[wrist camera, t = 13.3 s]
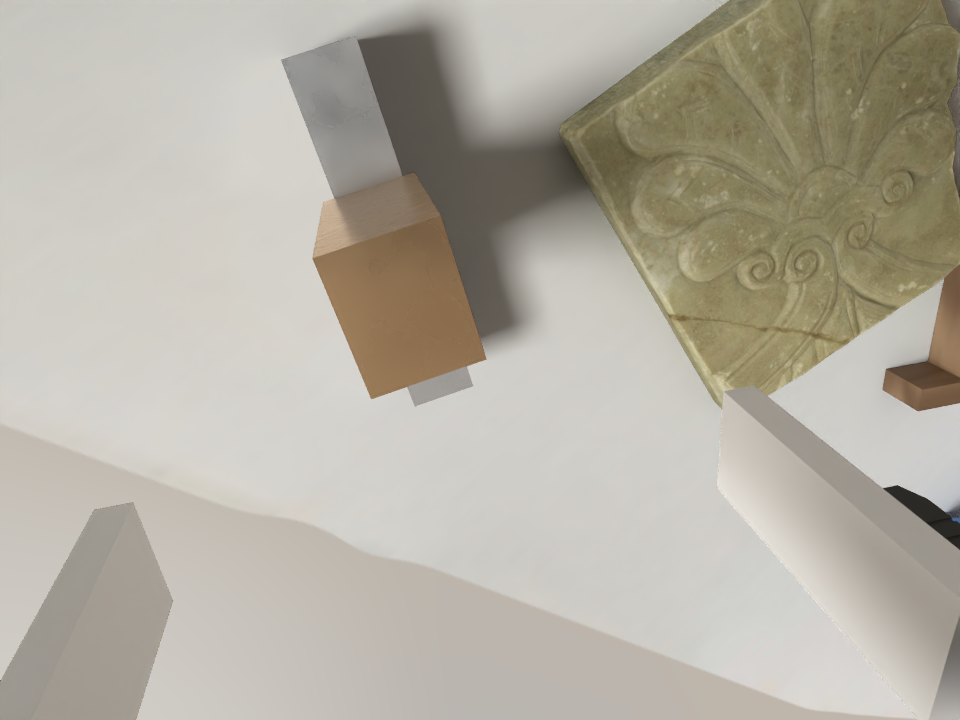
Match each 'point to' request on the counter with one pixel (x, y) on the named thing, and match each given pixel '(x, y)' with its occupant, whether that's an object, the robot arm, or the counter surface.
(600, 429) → the counter surface
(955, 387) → the brown wooden bar
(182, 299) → the counter surface
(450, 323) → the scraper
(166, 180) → the counter surface
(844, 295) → the decorative tile
